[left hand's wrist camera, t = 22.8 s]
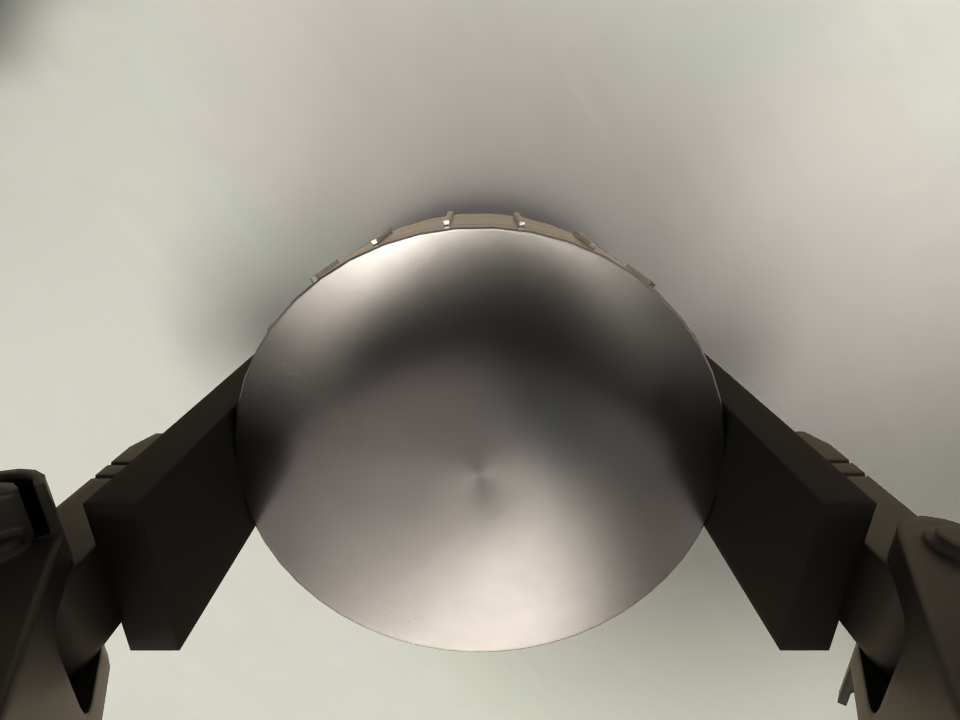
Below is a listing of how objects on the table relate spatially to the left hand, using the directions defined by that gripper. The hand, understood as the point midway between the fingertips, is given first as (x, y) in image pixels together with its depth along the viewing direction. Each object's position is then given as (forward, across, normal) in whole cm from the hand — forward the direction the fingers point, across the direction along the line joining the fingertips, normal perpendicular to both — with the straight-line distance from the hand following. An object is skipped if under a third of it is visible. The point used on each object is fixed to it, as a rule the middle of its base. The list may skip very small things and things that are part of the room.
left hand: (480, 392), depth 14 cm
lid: (-3, 0, 0) cm, 3 cm away
